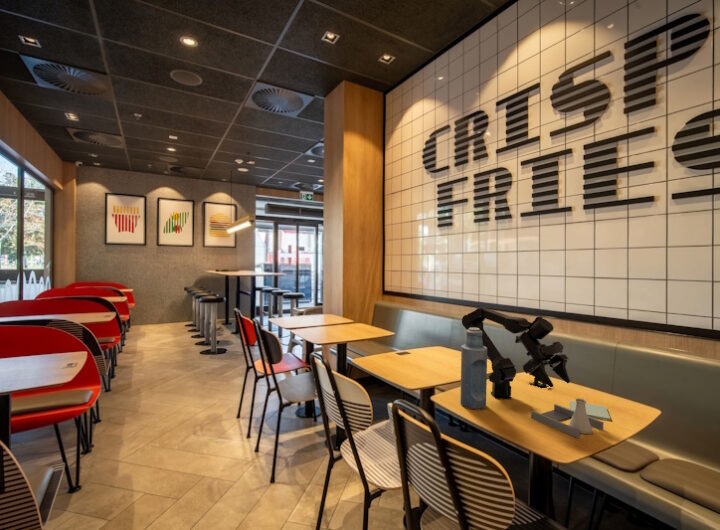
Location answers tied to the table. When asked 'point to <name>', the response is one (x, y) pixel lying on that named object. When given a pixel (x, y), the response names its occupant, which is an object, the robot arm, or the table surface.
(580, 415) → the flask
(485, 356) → the bottle
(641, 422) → the table surface
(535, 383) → the black arched bracket
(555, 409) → the trough
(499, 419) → the table surface
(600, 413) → the pad
